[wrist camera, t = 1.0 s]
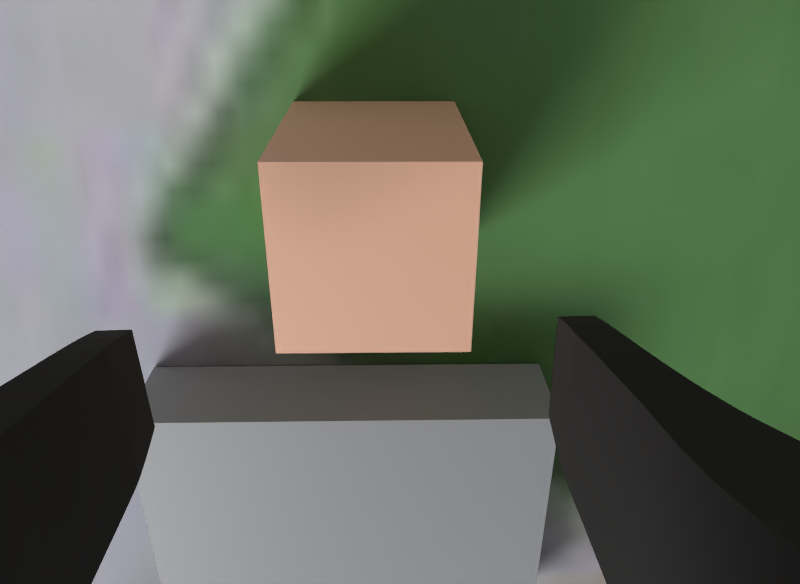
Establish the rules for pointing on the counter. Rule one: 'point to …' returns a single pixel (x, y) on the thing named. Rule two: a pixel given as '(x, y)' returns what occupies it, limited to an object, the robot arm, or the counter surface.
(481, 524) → the plinth
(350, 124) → the terracotta block
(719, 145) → the counter surface
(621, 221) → the counter surface
